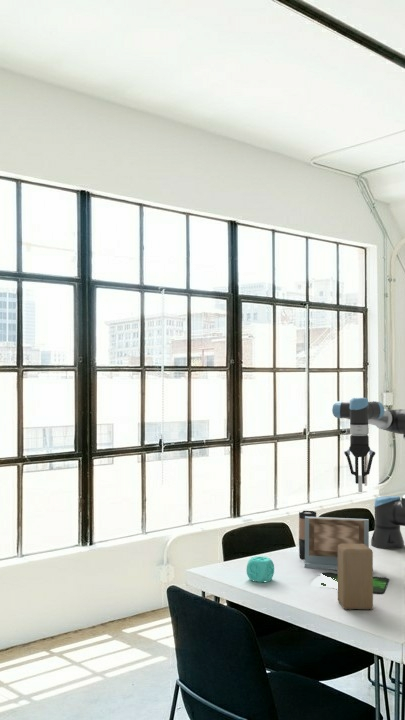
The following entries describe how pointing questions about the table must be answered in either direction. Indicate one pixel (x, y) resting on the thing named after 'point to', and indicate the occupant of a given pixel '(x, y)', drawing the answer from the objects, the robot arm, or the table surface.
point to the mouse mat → (378, 582)
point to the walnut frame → (333, 535)
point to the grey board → (322, 560)
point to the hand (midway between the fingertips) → (360, 491)
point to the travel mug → (303, 531)
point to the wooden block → (355, 576)
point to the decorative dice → (260, 569)
